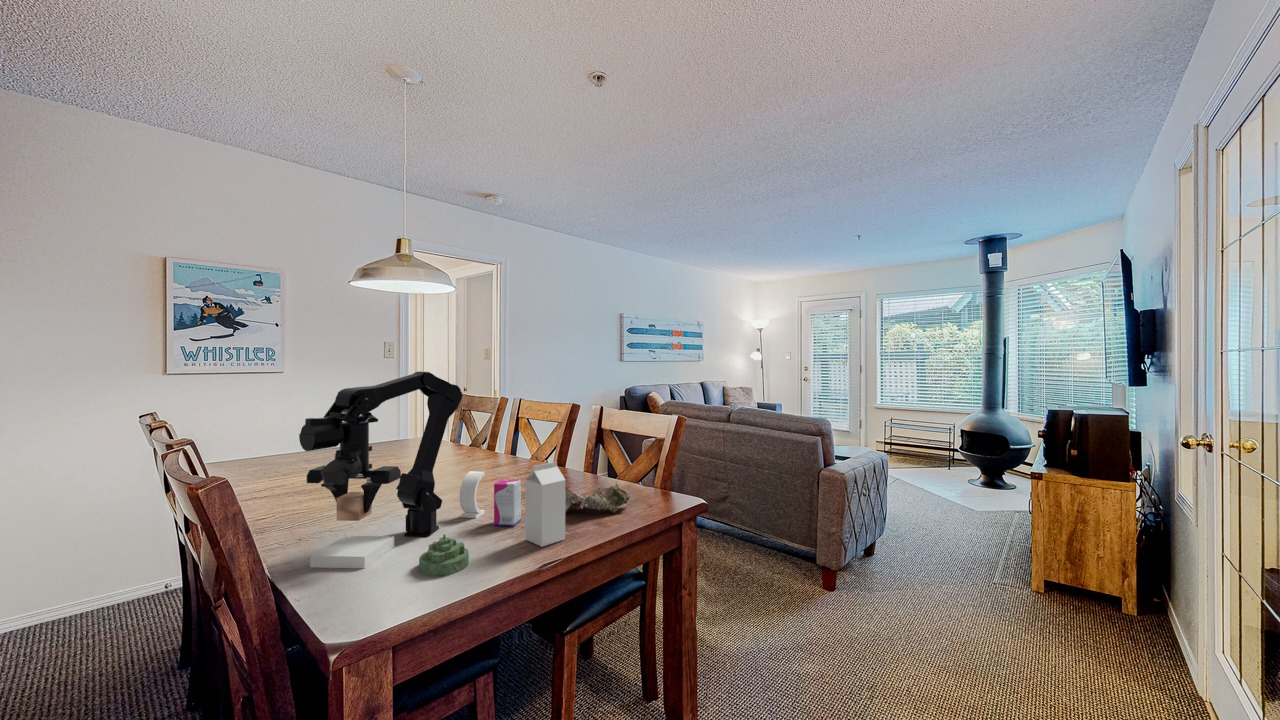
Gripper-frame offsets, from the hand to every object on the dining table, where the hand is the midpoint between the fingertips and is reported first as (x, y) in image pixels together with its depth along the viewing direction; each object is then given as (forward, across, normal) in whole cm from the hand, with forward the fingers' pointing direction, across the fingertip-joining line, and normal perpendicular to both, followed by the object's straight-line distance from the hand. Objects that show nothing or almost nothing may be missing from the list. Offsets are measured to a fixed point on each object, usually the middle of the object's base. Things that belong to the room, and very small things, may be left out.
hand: (354, 512), depth 112 cm
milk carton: (+10, +41, +12) cm, 44 cm away
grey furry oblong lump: (+11, +49, +36) cm, 62 cm away
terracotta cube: (+1, 0, 0) cm, 1 cm away
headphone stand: (+10, +16, +30) cm, 35 cm away
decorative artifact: (+10, +22, -4) cm, 25 cm away
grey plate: (+10, 0, 0) cm, 10 cm away
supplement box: (+10, +28, +24) cm, 38 cm away
